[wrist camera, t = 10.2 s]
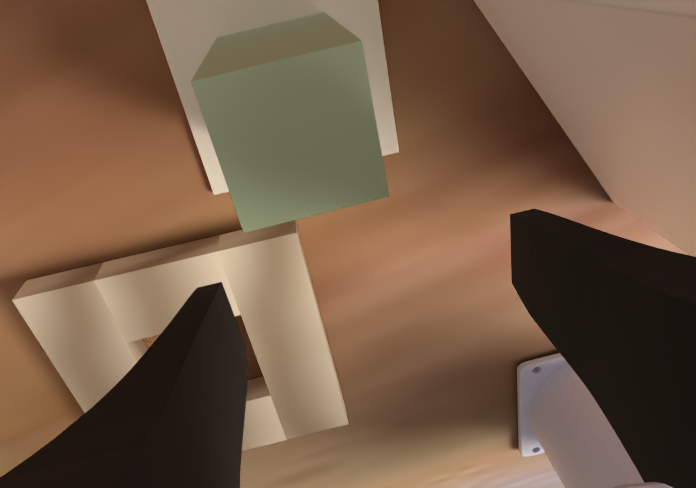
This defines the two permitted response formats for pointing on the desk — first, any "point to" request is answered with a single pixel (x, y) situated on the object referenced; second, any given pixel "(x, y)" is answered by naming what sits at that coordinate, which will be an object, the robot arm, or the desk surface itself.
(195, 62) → the mat
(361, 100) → the sage block
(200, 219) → the desk surface
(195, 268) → the pocket board
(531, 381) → the robot arm
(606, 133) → the gable box
